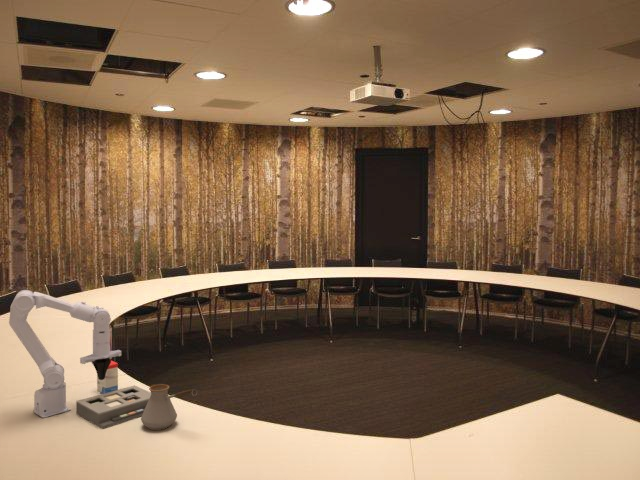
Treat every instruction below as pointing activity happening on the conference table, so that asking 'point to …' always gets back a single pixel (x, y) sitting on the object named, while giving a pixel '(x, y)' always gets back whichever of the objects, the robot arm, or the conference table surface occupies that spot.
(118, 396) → the key sand
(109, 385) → the ink box
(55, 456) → the conference table surface
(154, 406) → the coffee pot
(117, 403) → the key cream
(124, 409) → the grey sorting tray
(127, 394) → the key slate
